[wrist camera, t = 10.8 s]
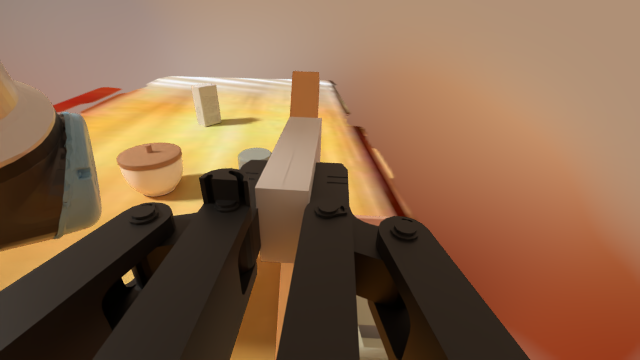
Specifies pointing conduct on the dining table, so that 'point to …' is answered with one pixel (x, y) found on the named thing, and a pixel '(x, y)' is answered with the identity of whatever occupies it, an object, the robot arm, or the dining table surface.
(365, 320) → the lever
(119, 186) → the dining table surface
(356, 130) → the dining table surface
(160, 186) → the lidded jar
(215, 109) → the skincare box
